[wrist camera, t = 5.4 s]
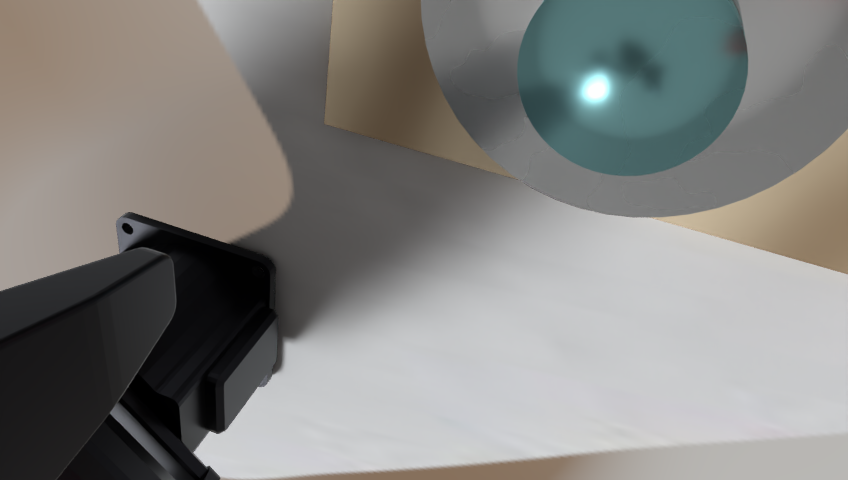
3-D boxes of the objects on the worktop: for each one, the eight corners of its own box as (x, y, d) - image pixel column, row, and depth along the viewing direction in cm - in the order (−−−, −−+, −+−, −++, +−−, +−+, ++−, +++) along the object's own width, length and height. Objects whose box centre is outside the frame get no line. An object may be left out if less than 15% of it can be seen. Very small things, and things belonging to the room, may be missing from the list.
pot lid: (405, 142, 17) (331, 232, 14) (472, -312, 12) (382, -348, 9) (780, 249, 15) (803, 381, 12) (1029, -221, 11) (1185, -222, 7)
